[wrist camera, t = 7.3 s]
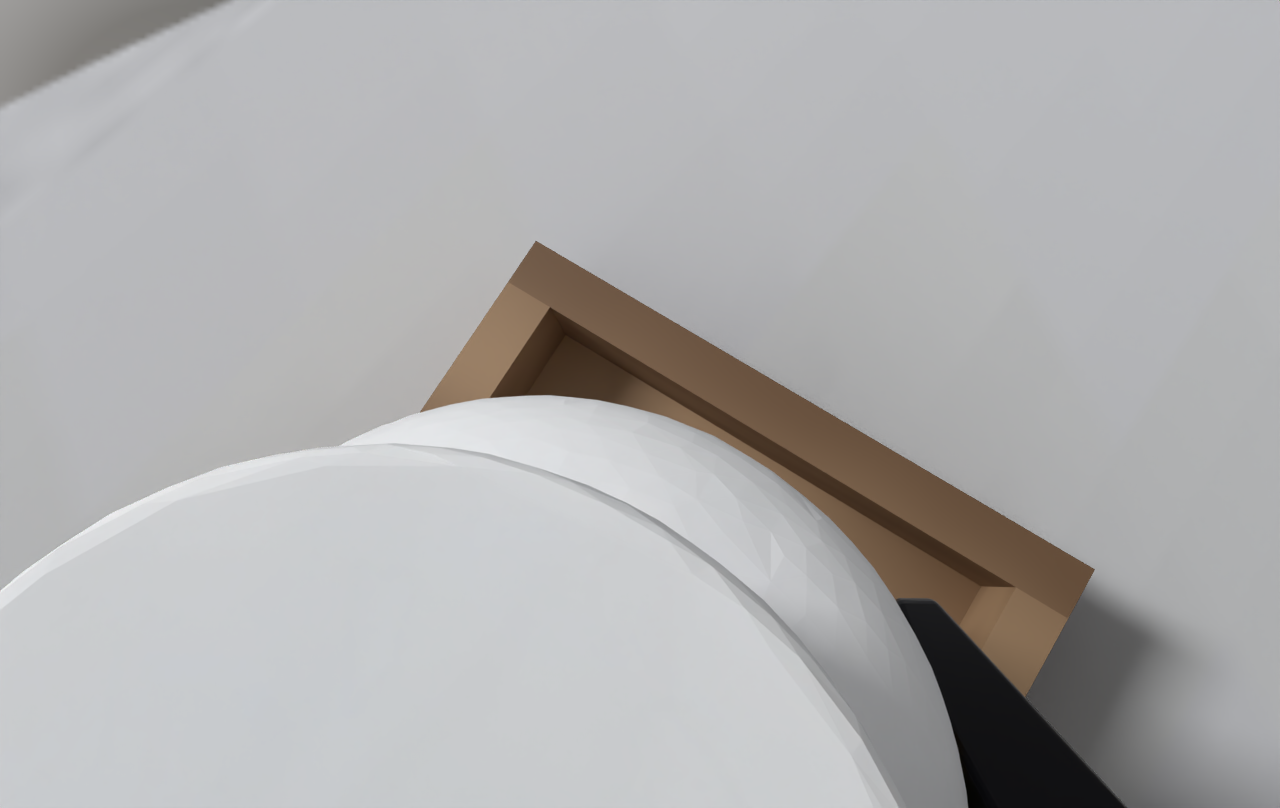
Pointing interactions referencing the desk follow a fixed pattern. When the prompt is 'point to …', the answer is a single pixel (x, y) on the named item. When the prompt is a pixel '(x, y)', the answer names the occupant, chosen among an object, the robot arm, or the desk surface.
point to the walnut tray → (776, 451)
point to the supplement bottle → (471, 633)
